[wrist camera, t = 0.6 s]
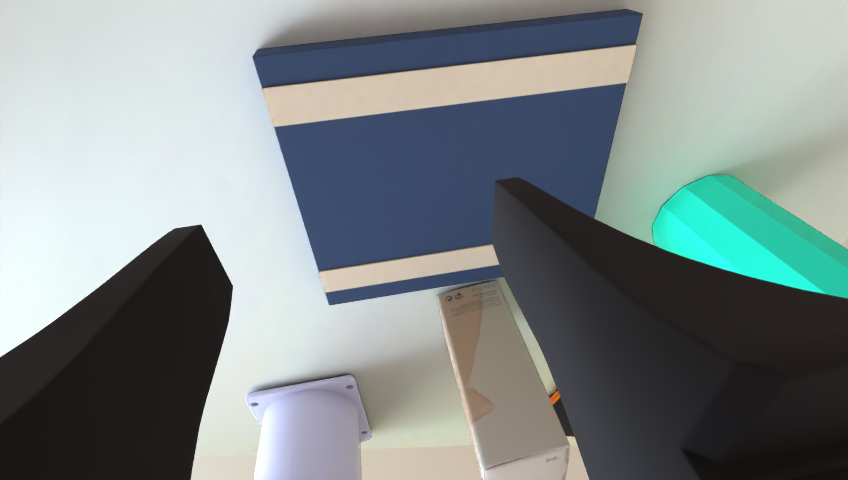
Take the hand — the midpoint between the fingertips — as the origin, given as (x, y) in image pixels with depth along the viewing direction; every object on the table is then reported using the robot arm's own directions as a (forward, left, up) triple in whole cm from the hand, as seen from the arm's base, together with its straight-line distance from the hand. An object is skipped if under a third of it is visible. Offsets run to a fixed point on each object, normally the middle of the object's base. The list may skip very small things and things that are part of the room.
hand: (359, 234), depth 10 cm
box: (-15, -6, -10) cm, 20 cm away
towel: (-4, -5, -10) cm, 12 cm away
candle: (-10, -21, -10) cm, 25 cm away
